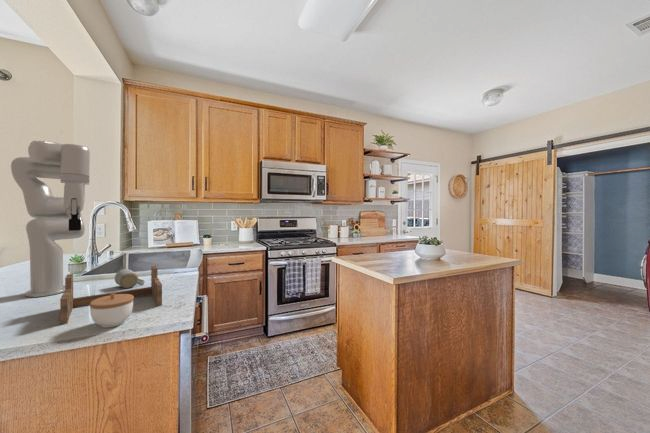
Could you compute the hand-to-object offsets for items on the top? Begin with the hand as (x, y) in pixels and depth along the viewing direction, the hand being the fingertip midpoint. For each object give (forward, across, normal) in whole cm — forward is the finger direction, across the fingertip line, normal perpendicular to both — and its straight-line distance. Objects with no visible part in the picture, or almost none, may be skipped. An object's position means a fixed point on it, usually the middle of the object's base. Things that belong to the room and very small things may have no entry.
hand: (74, 230), depth 95 cm
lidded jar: (+27, +27, +10) cm, 40 cm away
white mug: (+29, -18, +18) cm, 38 cm away
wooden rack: (+28, +10, +12) cm, 31 cm away
